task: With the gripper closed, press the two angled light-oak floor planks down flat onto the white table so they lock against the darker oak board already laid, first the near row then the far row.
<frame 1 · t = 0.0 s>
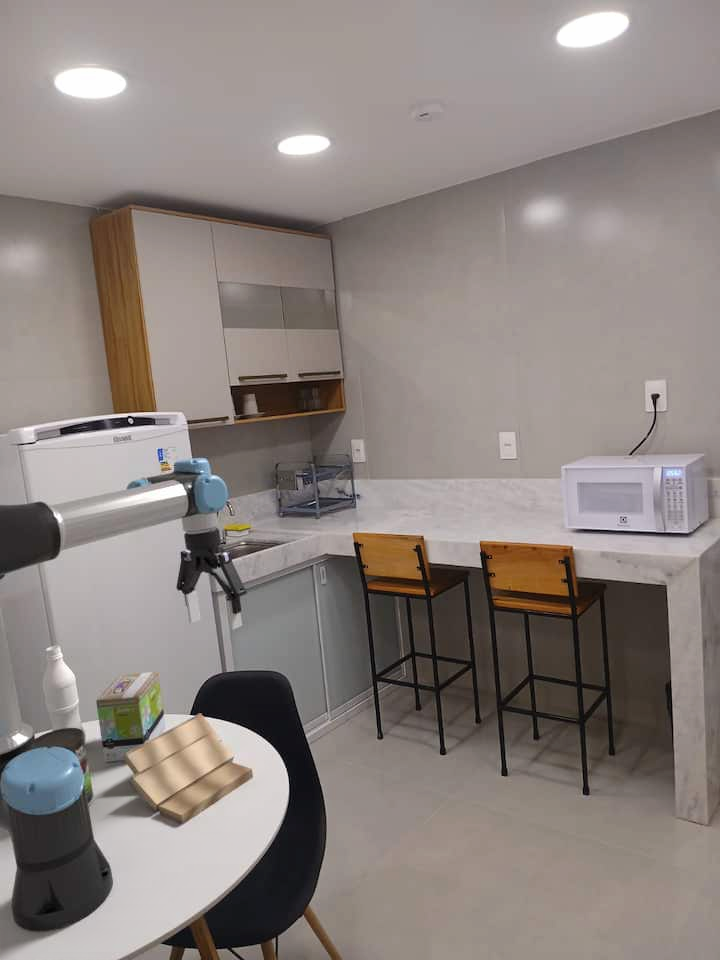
hand: (215, 624, 162), 28 cm above the table, fingers open, 13 cm apart
laid board: (207, 795, 145), on the table
tea box: (137, 745, 171), on the table
water bottle: (71, 751, 172), on the table
plank a: (184, 768, 151), point 3 cm above the table, hinge at 30.0°
plank b: (174, 748, 159), point 4 cm above the table, hinge at 40.0°
coffee can: (67, 806, 148), on the table
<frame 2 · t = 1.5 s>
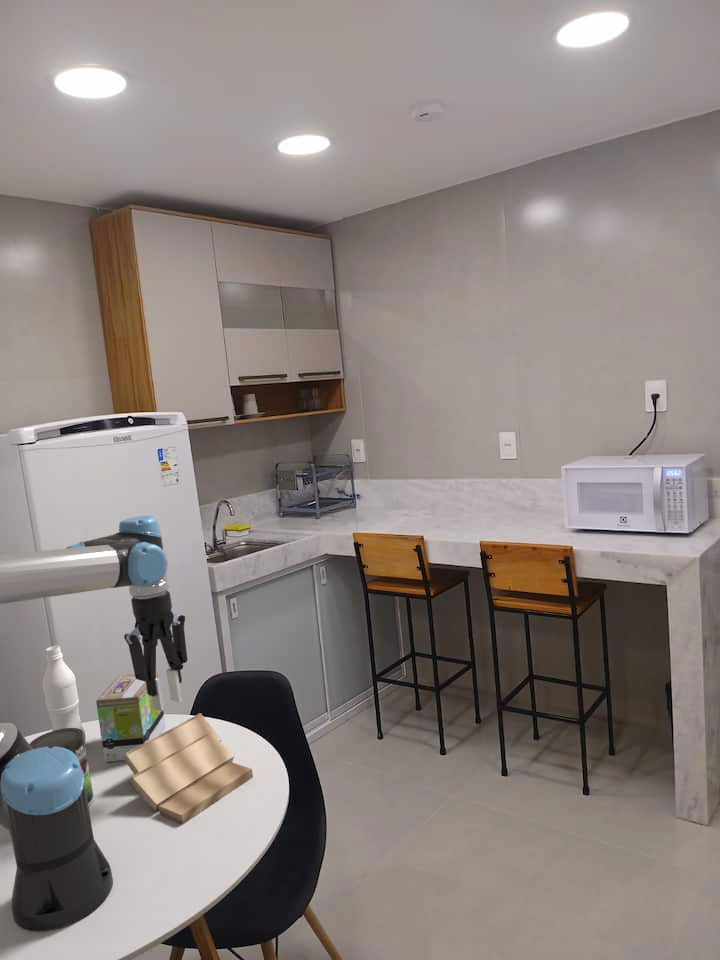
hand: (167, 704, 150), 17 cm above the table, fingers open, 4 cm apart
nothing on the table moved.
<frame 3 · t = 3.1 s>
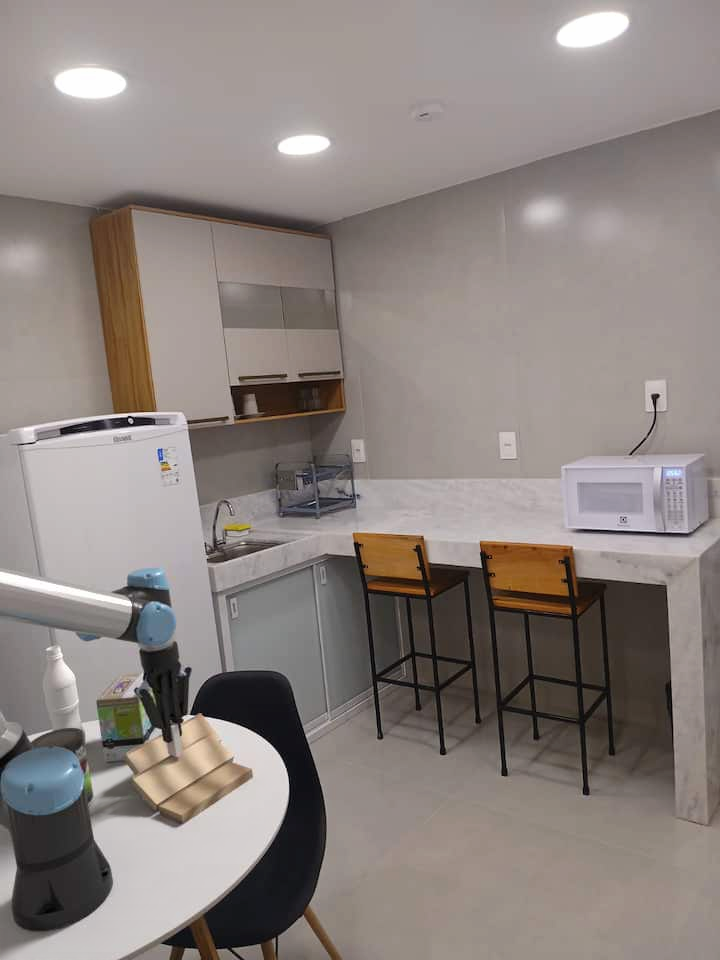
hand: (175, 753, 152), 6 cm above the table, fingers closed
plank a: (184, 769, 151), point 3 cm above the table, hinge at 28.2°, touching gripper
everything else where it was.
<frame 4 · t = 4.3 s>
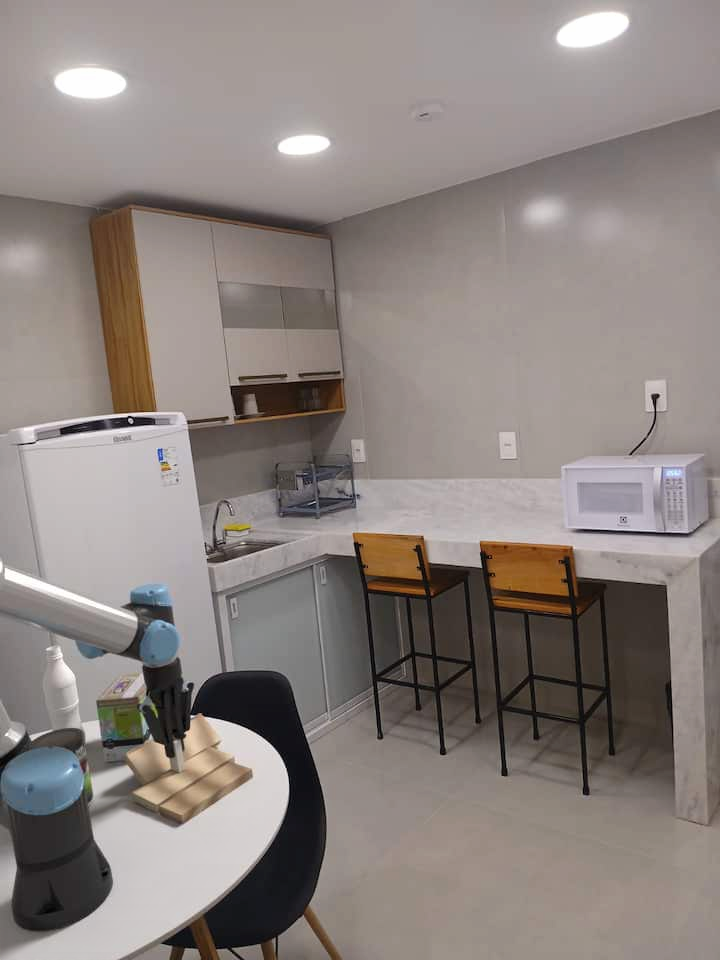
hand: (178, 769, 153), 2 cm above the table, fingers closed
plank a: (185, 777, 151), point 1 cm above the table, hinge at 3.3°, touching gripper
everything else where it was.
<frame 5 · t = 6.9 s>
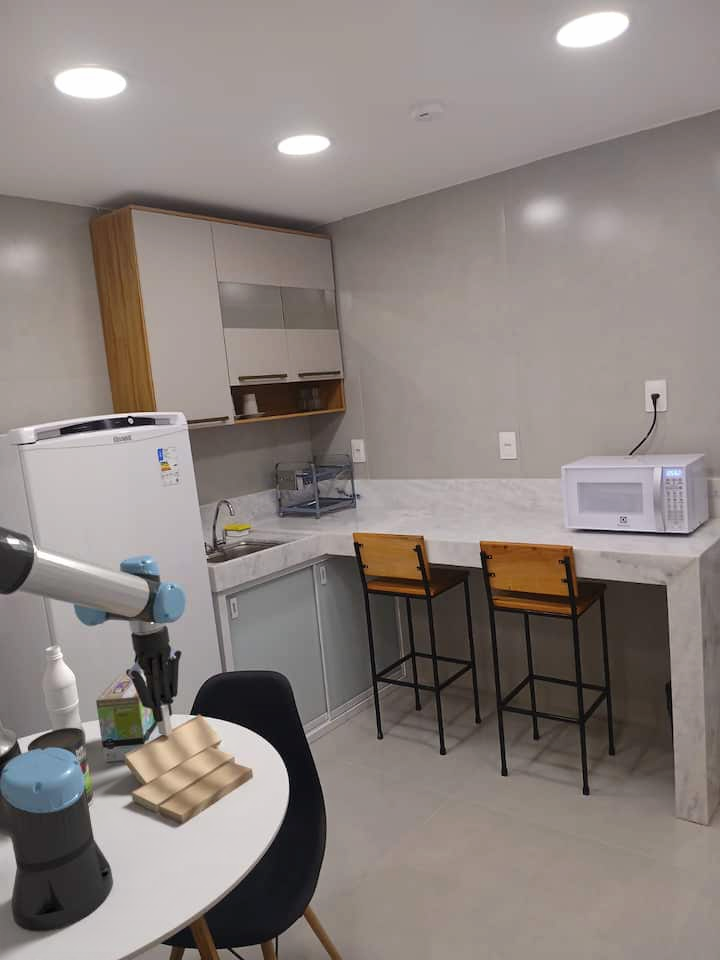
hand: (165, 732, 160), 7 cm above the table, fingers closed
plank a: (185, 777, 151), point 1 cm above the table, hinge at 3.2°
plank b: (174, 749, 159), point 4 cm above the table, hinge at 36.3°, touching gripper
everything else where it was.
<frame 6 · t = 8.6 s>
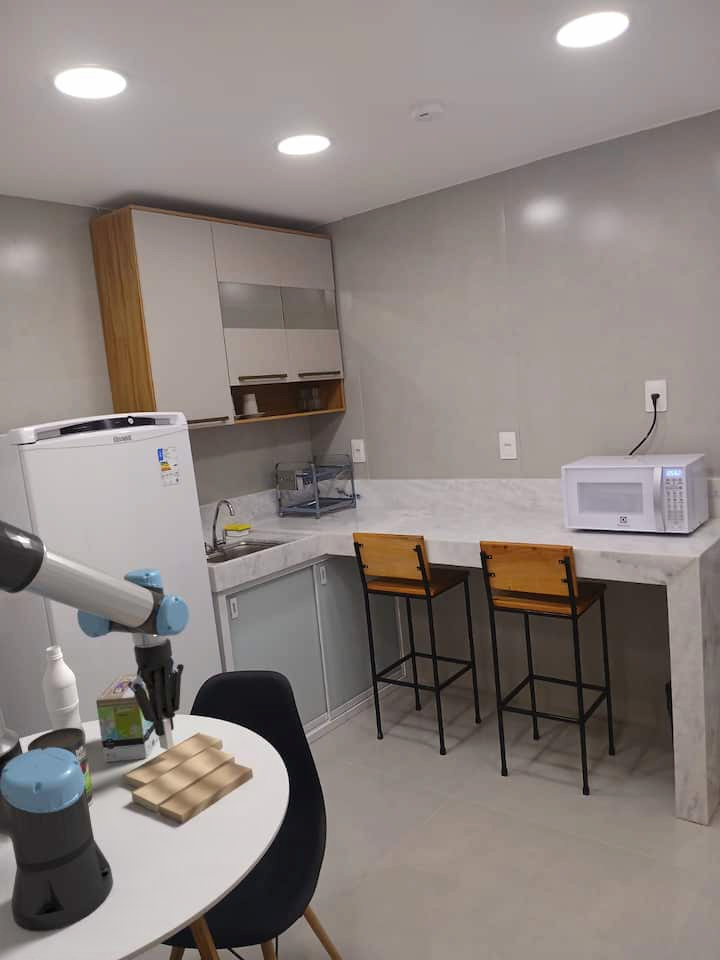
hand: (167, 747, 159), 4 cm above the table, fingers closed
plank b: (175, 760, 159), point 1 cm above the table, hinge at -0.3°
everything else where it was.
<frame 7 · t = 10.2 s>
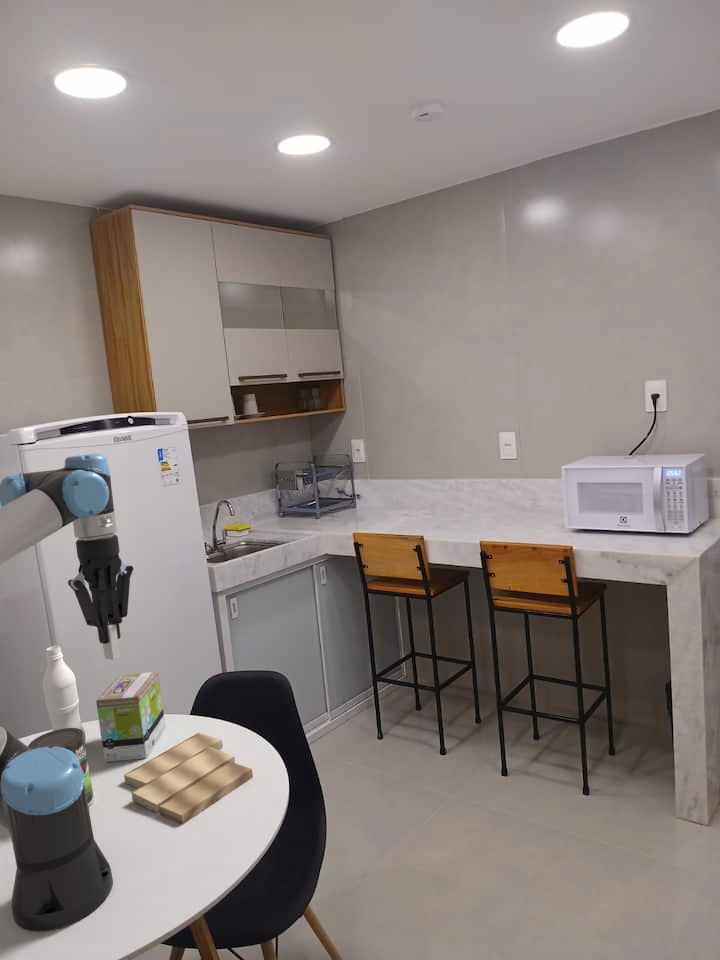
hand: (112, 657, 141), 30 cm above the table, fingers closed
plank b: (175, 760, 159), point 1 cm above the table, hinge at -0.4°
everything else where it was.
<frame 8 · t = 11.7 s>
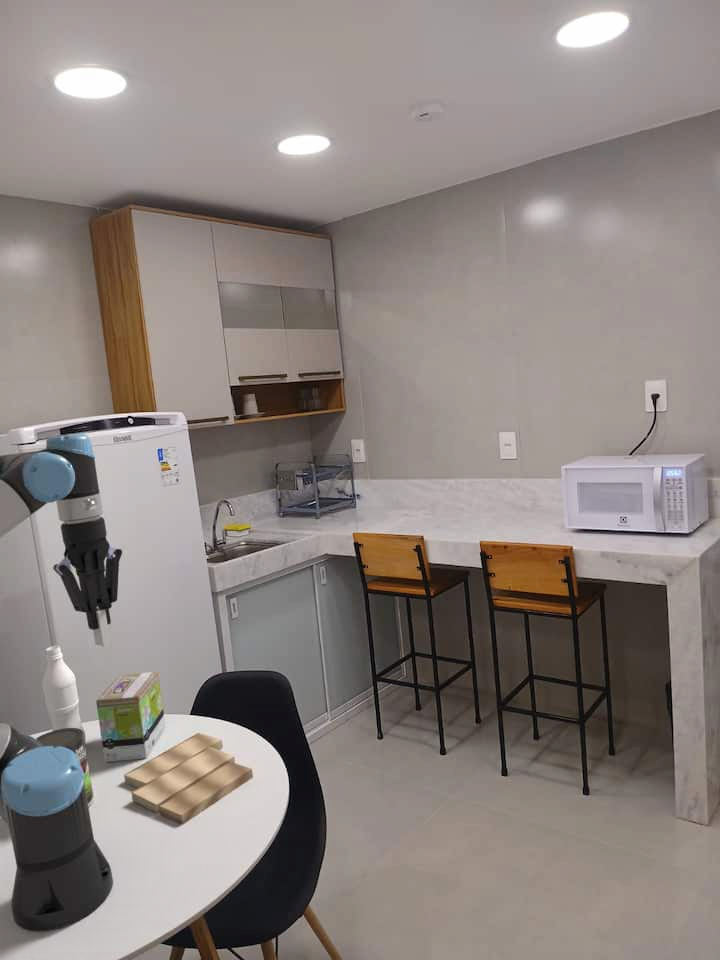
hand: (103, 643, 137), 34 cm above the table, fingers closed
nothing on the table moved.
at the end: plank a at +3° (first picture: +30°); plank b at +0° (first picture: +40°); plank a touching nothing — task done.
